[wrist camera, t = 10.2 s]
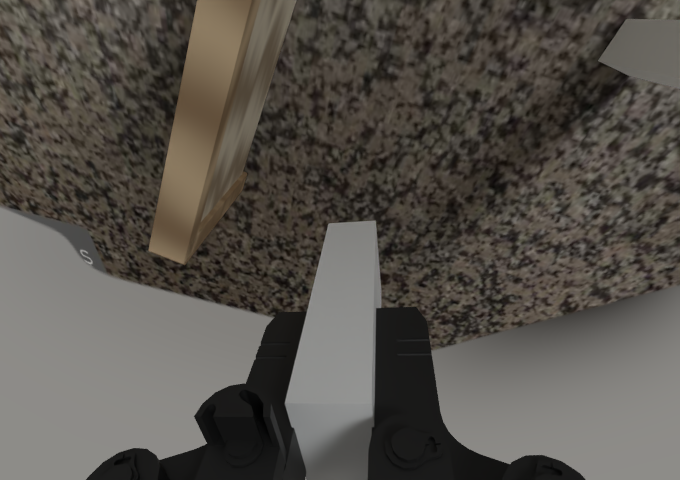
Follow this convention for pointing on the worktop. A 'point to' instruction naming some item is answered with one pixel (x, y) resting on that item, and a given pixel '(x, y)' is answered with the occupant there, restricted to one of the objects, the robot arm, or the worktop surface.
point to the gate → (216, 117)
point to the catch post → (646, 51)
